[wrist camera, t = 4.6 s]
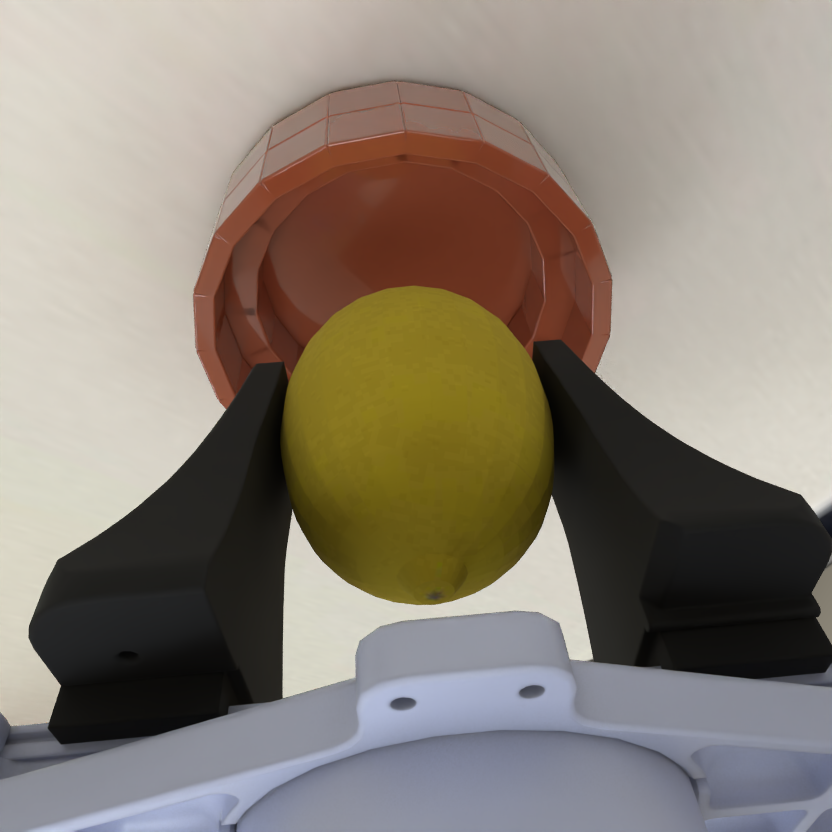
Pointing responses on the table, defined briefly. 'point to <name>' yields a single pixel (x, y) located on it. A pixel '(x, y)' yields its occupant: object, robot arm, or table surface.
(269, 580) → the robot arm
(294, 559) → the table surface
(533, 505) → the lemon
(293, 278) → the bowl
